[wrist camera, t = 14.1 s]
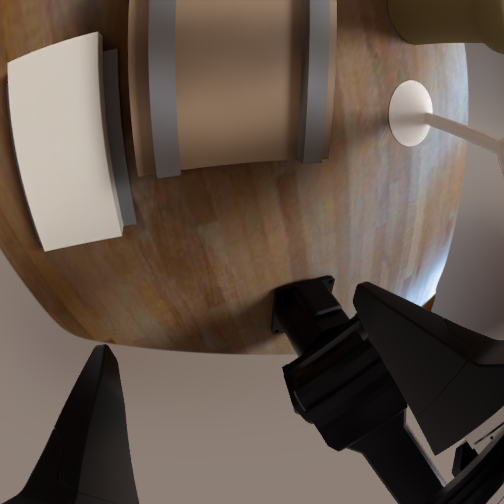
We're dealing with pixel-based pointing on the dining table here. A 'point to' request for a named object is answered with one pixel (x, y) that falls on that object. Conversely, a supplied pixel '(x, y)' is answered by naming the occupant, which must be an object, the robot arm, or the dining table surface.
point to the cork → (449, 21)
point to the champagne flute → (430, 121)
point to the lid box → (230, 82)
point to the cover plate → (65, 142)
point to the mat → (113, 136)
